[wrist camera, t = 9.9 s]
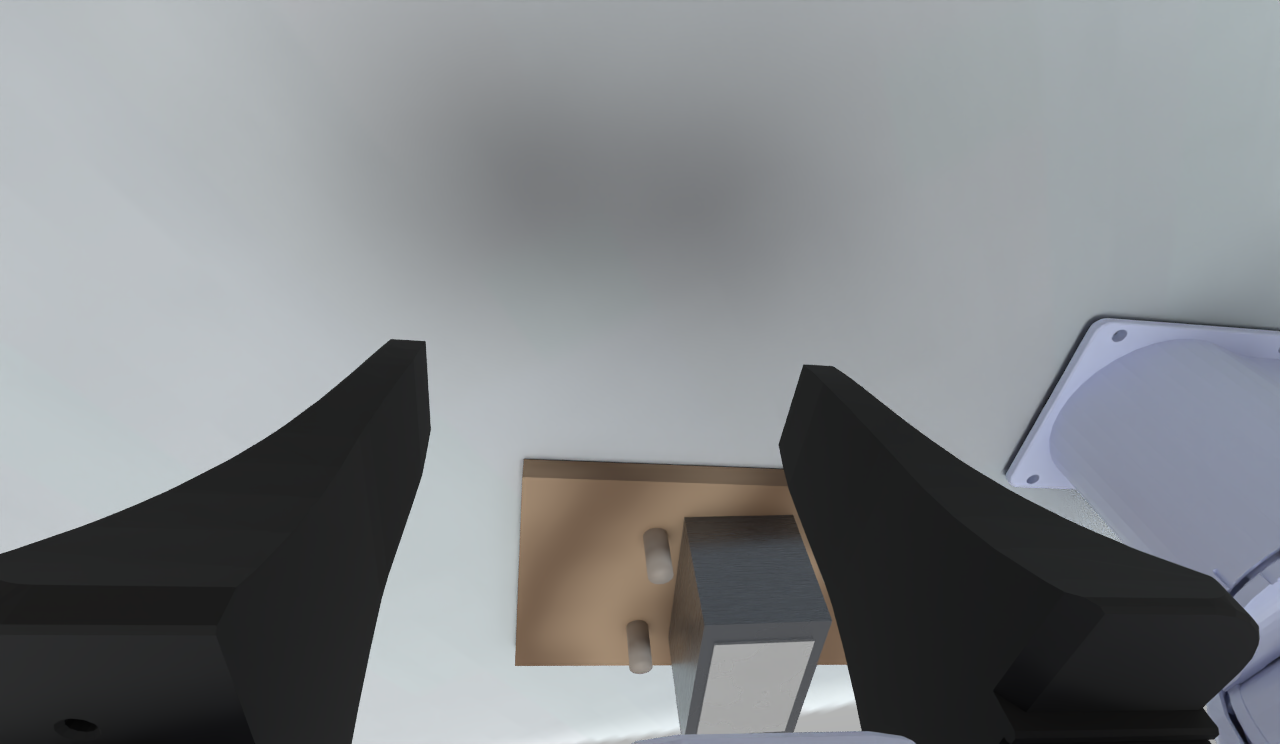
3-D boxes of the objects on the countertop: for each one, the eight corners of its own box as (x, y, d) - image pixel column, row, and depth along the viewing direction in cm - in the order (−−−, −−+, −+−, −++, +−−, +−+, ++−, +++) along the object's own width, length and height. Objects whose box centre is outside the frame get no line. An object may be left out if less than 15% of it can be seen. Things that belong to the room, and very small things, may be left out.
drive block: (793, 514, 27) (833, 623, 23) (761, 634, 32) (790, 743, 28) (684, 517, 27) (705, 627, 23) (667, 638, 31) (682, 749, 27)
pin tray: (955, 475, 28) (991, 529, 26) (867, 646, 35) (889, 702, 32) (524, 459, 26) (518, 516, 23) (516, 646, 32) (511, 707, 30)
